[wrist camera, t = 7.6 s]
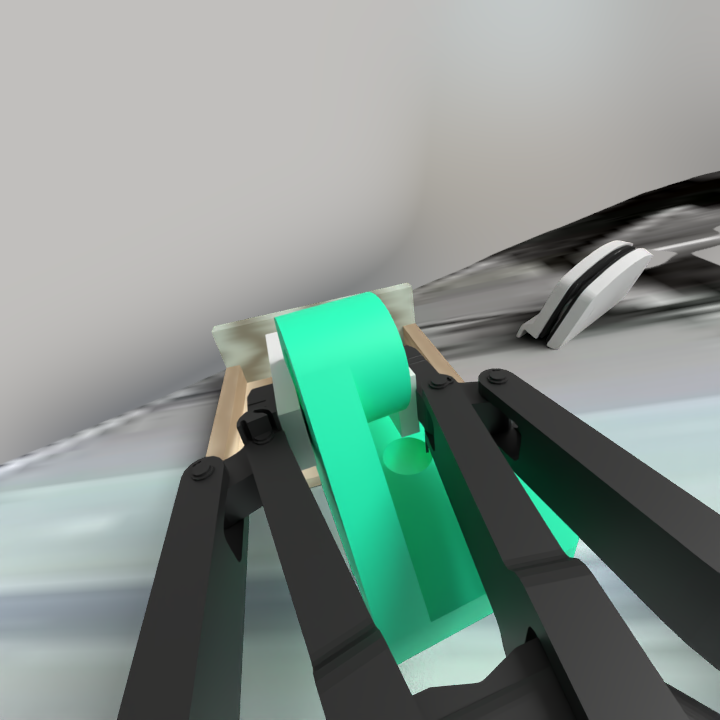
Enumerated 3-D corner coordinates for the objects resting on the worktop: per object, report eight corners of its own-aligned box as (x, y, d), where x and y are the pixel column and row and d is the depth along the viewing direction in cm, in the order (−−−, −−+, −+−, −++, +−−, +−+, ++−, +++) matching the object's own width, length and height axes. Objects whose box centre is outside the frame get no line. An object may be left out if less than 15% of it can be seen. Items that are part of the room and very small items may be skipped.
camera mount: (581, 578, 13) (666, 325, 8) (391, 683, 11) (333, 450, 6) (420, 400, 23) (410, 236, 18) (306, 441, 21) (255, 273, 16)
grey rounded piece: (583, 290, 50) (626, 221, 43) (616, 308, 48) (668, 238, 40) (513, 337, 42) (551, 263, 35) (549, 361, 40) (598, 287, 33)
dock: (217, 513, 28) (172, 437, 23) (238, 385, 43) (213, 326, 39) (484, 439, 30) (487, 357, 25) (413, 343, 45) (407, 282, 41)
